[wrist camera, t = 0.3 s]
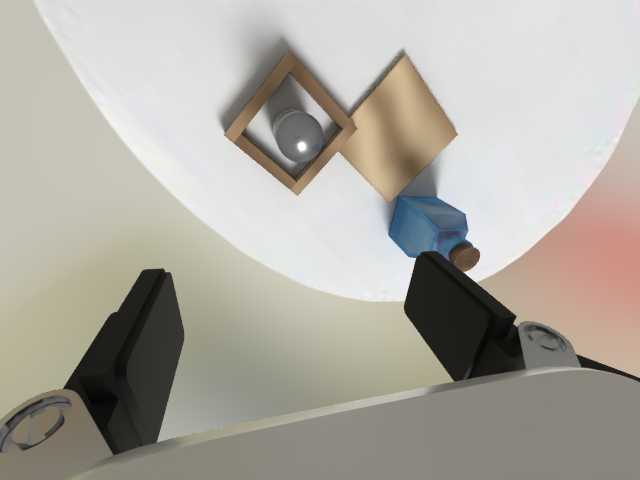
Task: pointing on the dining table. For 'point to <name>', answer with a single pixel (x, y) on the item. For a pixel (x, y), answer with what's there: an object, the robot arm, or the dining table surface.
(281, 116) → the peg
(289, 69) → the collar
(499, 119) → the dining table surface
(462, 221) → the perfume bottle
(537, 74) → the dining table surface
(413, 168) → the mat
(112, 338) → the robot arm
